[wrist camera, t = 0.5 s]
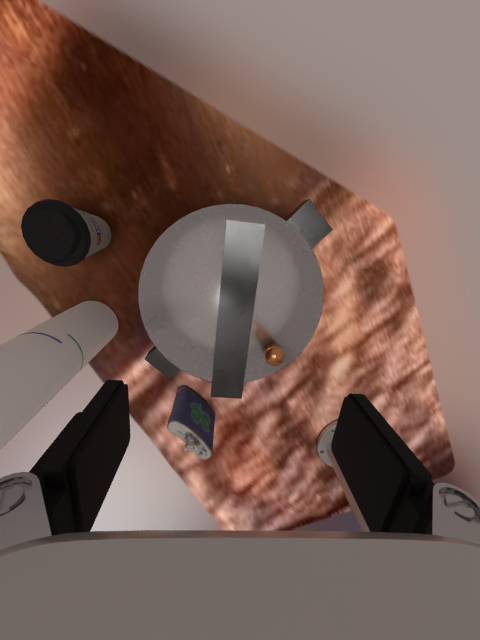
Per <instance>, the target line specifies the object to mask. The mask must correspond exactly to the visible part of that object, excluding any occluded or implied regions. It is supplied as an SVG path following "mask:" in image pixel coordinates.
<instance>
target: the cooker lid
mask: <svg viewBox="0 0 480 640" xmlns="http://www.w3.org/2000/svg"><path fill="white" fill-rule="evenodd" d="M138 298H139V309H140V313H141V317H142V321H143V323H144V326H145V329H146V331H147V333H148V335H149V337H150V339H151V340H152V342H153V343H154V345H155V346H156V347H157V349H158V350H159V351H160V352H161V353H162V354H163V355H164V357H165V358H166V359H168V360H169V361H170V362H171V363H172V364H174V365H175V366H176V367H178V368H180V369H181V370H183V371H184V372H186V373H188V374H190V375H192V376H195V377H198V378H200V379H203V380H207V381H211V382H212V386H211V397H223V398H241V399H242V392H243V384H244V382H250V381H254V380H258V379H261V378H264V377H267V376H269V375H271V374H273V373H275V372H277V371H279V370H280V369H282V368H283V367H285V366H286V365H288V364H289V363H290V362H291V361H293V360H294V359H295V358H296V357H297V356H298V355H299V354H300V353H301V352H302V351H303V349H304V348H305V347H306V345H307V344H308V343H309V341H310V340H311V338H312V336H313V335H314V333H315V330H316V328H317V326H318V323H319V320H320V317H321V313H322V308H323V302H324V286H323V278H322V274H321V269H320V266H319V263H318V261H317V258H316V256H315V254H314V252H313V250H312V249H311V247H310V245H309V244H308V242H307V241H306V240H305V239H304V237H303V236H302V235H301V234H300V233H299V232H298V231H297V230H296V229H295V228H294V227H293V226H292V225H291V224H289V223H288V222H286V221H285V220H284V219H282V218H281V217H279V216H277V215H275V214H273V213H271V212H269V211H266V210H263V209H261V208H258V207H253V206H248V205H242V204H223V205H215V206H210V207H206V208H202V209H200V210H197V211H195V212H192V213H190V214H188V215H186V216H185V217H183V218H181V219H179V220H178V221H177V222H175V223H174V224H173V225H171V226H170V227H169V228H168V229H167V230H166V231H165V232H164V233H163V234H162V235H161V236H160V237H159V238H158V240H157V241H156V242H155V244H154V245H153V247H152V248H151V250H150V252H149V254H148V256H147V257H146V259H145V262H144V265H143V268H142V271H141V275H140V281H139V292H138Z"/></svg>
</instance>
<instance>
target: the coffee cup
mask: <svg viewBox="0 0 480 640" xmlns="http://www.w3.org/2000/svg"><path fill="white" fill-rule="evenodd" d="M21 227H22V233H23V237H24V239H25V241H26V243H27V246H28V247H29V248H30V249H31V250H32V252H33V253H34V254H35V255H37V256H38V257H39V258H41V259H42V260H44V261H46V262H48V263H51V264H53V265H56V266H65V267H67V266H72V265H76V264H78V263H79V262H81V261H82V260H84V258H86V257H88V256H90V255H92V254H94V253H96V252H98V251H100V250H102V249H103V248H105V247H107V246H108V244H109V243H110V241H111V230H110V227H109V226H108V224H107V223H106V222H105V221H104V220H103V219H102V218H100V217H97V216H95V215H92V214H89V213H87V212H84V211H81V210H78V209H75V208H72V207H71V206H70V205H68V204H66V203H63V202H61V201H59V200H50V199H46V200H42V201H38V202H36V203H35V204H33V205H32V206H31V207H29V208H28V209H27V211H26V212H25V214H24V216H23V219H22V225H21Z"/></svg>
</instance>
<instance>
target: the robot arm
mask: <svg viewBox="0 0 480 640" xmlns="http://www.w3.org/2000/svg"><path fill="white" fill-rule="evenodd" d="M129 441H130V420H129V398H128V385H127V384H124V383H123V381H122V380H107V381H106V382H105V383H104V384H103V386H102V387H101V388H100V390H99V391H98V392H97V394H96V395H95V396H94V397H93V399H92V400H91V401H90V402H89V404H88V405H87V406H86V408H85V409H84V410H83V412H79V413H77V414H76V415H75V416H74V417H73V418H72V419H71V420H70V422H69V423H68V424H67V425H66V427H65V428H64V429H63V430H62V432H61V433H60V434H59V435H58V437H57V438H56V439H55V440H54V442H53V443H52V444H51V445H50V447H49V448H48V449H47V450H46V452H45V453H44V454H43V455H42V457H41V458H40V459H39V460H38V462H37V463H36V464H35V465H34V467H33V468H32V469H31V470H30V472H20V473H14V474H11V475H8V476H5V477H3V478H0V640H480V503H479V502H478V501H477V500H476V499H475V498H474V497H472V496H471V495H470V494H468V493H467V492H465V491H464V490H462V489H460V488H458V487H456V486H454V485H451V484H447V483H437V484H436V485H435V484H434V483H433V482H432V480H431V477H432V475H431V474H430V473H429V471H428V470H427V469H426V468H425V467H424V465H423V464H422V463H421V462H420V461H419V459H418V458H417V457H416V456H415V455H414V453H413V452H412V451H411V450H410V449H409V448H408V446H407V445H406V444H405V443H404V442H403V440H402V439H401V438H400V437H399V436H398V434H397V433H396V432H395V431H394V430H393V428H392V427H391V426H390V425H389V424H388V423H387V421H386V420H385V419H384V418H383V417H382V415H381V414H380V413H379V412H378V411H377V409H376V408H375V407H374V406H373V405H372V403H371V402H370V401H369V400H368V399H367V398H366V396H365V395H363V394H349V395H348V397H345V398H344V400H343V404H342V407H341V411H340V414H339V418H338V420H337V421H334V422H332V423H331V424H330V425H328V426H327V427H326V428H325V429H324V430H323V431H322V432H321V434H320V435H319V437H318V440H317V452H318V454H319V457H320V458H321V460H322V461H323V462H324V463H325V464H327V465H328V466H330V467H333V469H334V471H335V473H336V475H337V478H338V480H339V482H340V484H341V486H342V489H343V491H344V493H345V495H346V497H347V500H348V502H349V504H350V506H351V509H352V511H353V513H354V515H355V517H356V519H357V522H358V524H359V526H360V528H361V530H362V532H333V531H332V532H330V531H329V532H328V531H159V530H158V531H157V530H154V531H151V530H150V531H149V530H146V531H94V532H90V530H91V528H92V526H93V524H94V521H95V519H96V517H97V515H98V512H99V510H100V508H101V506H102V503H103V501H104V499H105V497H106V494H107V492H108V490H109V488H110V485H111V483H112V481H113V479H114V476H115V474H116V472H117V469H118V467H119V465H120V463H121V461H122V458H123V456H124V454H125V452H126V449H127V447H128V445H129Z"/></svg>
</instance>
